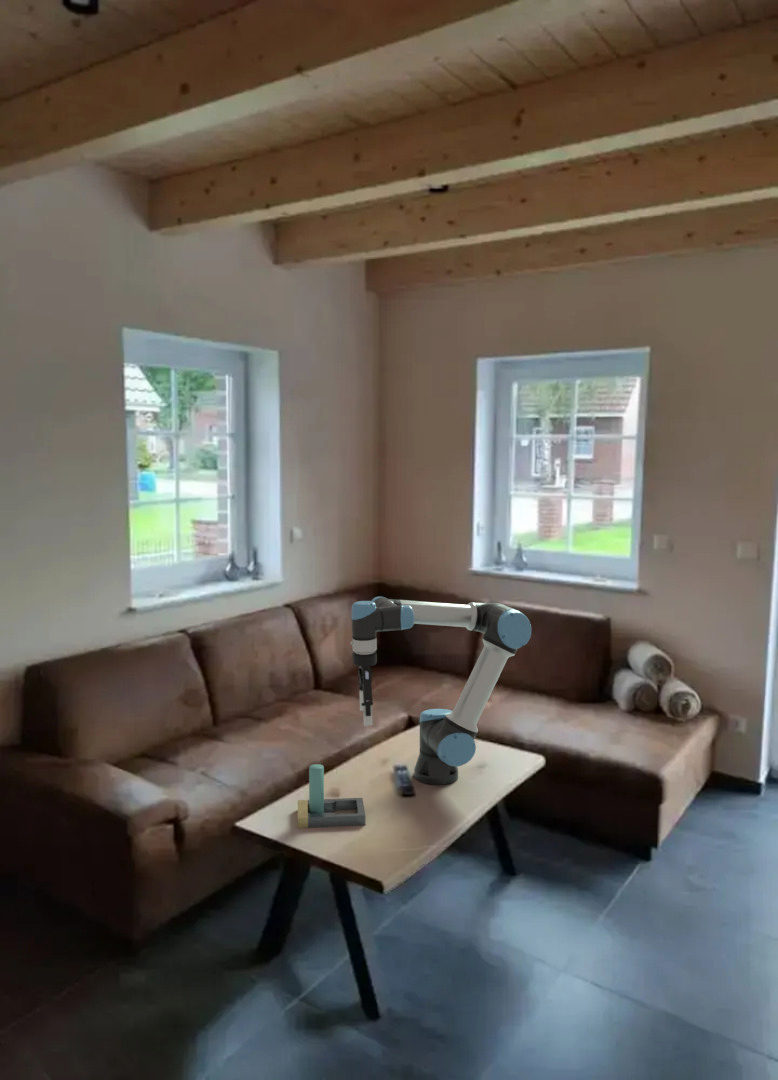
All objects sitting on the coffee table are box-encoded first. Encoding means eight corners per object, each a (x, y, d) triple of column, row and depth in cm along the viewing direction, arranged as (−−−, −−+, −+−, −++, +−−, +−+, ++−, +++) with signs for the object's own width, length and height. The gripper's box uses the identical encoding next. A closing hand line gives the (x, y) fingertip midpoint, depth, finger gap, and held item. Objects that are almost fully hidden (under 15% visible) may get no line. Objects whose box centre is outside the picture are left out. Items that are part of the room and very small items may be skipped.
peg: (323, 814, 241) (323, 763, 239) (324, 820, 237) (324, 769, 235) (309, 814, 240) (309, 764, 239) (309, 821, 236) (309, 770, 234)
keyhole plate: (362, 806, 246) (362, 797, 246) (365, 824, 234) (365, 815, 234) (298, 809, 244) (297, 800, 244) (297, 828, 232) (297, 818, 232)
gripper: (349, 642, 255) (351, 705, 258) (355, 663, 230) (357, 732, 233) (372, 640, 256) (373, 703, 258) (381, 661, 231) (382, 731, 234)
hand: (366, 717), depth 246 cm, fingers open, 13 cm apart
